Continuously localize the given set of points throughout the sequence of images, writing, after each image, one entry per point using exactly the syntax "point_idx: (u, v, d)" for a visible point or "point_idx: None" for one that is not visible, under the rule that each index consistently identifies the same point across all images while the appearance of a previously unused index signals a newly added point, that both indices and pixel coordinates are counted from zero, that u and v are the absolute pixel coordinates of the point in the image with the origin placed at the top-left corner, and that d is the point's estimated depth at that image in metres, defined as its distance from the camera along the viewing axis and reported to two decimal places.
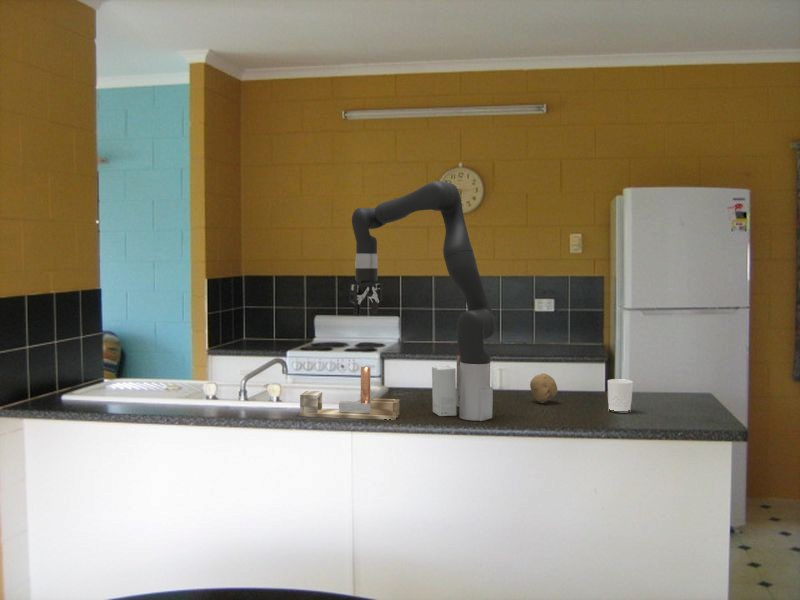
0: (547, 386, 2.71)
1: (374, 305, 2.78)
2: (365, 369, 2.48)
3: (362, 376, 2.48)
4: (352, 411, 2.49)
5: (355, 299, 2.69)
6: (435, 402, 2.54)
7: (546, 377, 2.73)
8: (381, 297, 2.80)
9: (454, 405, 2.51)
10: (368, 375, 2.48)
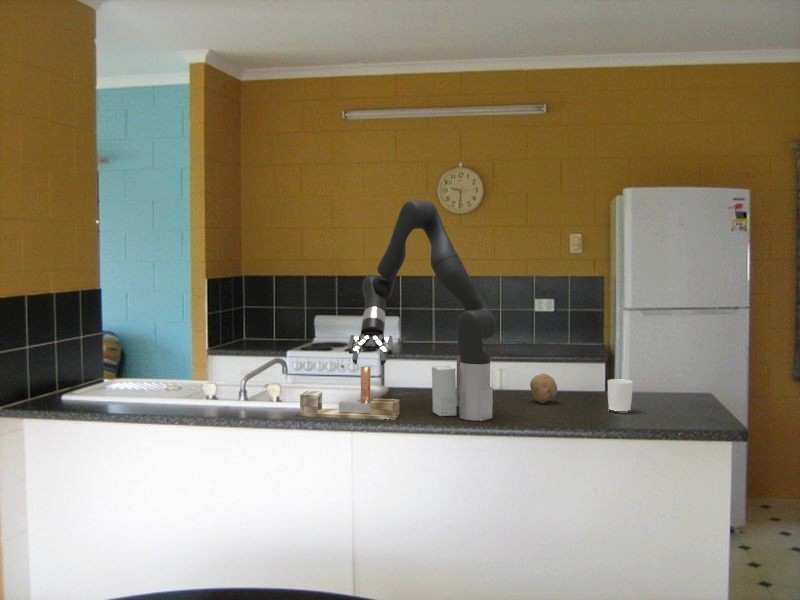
0: (547, 386, 2.71)
1: (381, 355, 2.58)
2: (365, 369, 2.48)
3: (362, 376, 2.48)
4: (352, 411, 2.49)
5: (349, 346, 2.60)
6: (435, 402, 2.54)
7: (546, 377, 2.73)
8: (390, 347, 2.59)
9: (454, 405, 2.51)
10: (368, 375, 2.48)
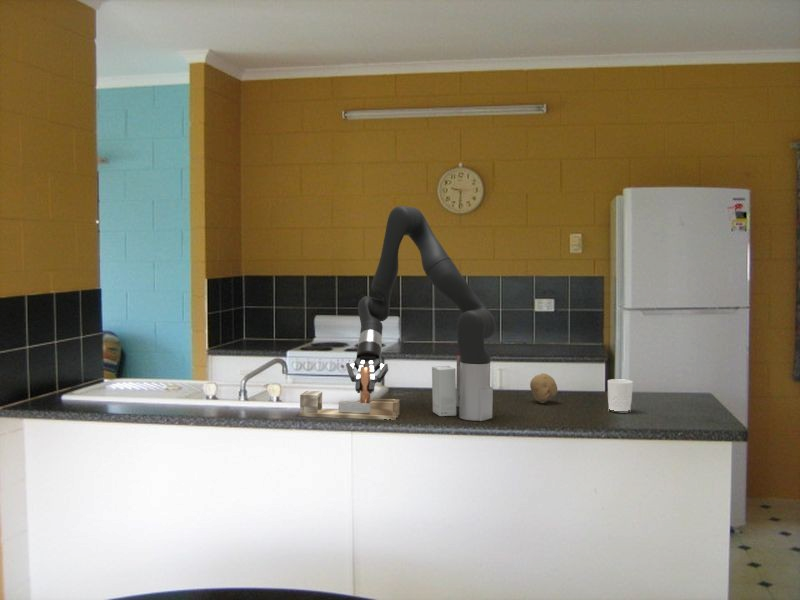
0: (548, 386, 2.71)
1: None
2: (365, 369, 2.48)
3: (362, 376, 2.48)
4: (352, 411, 2.49)
5: (352, 374, 2.51)
6: (435, 402, 2.54)
7: (546, 377, 2.73)
8: (379, 374, 2.50)
9: (454, 405, 2.51)
10: (368, 375, 2.48)
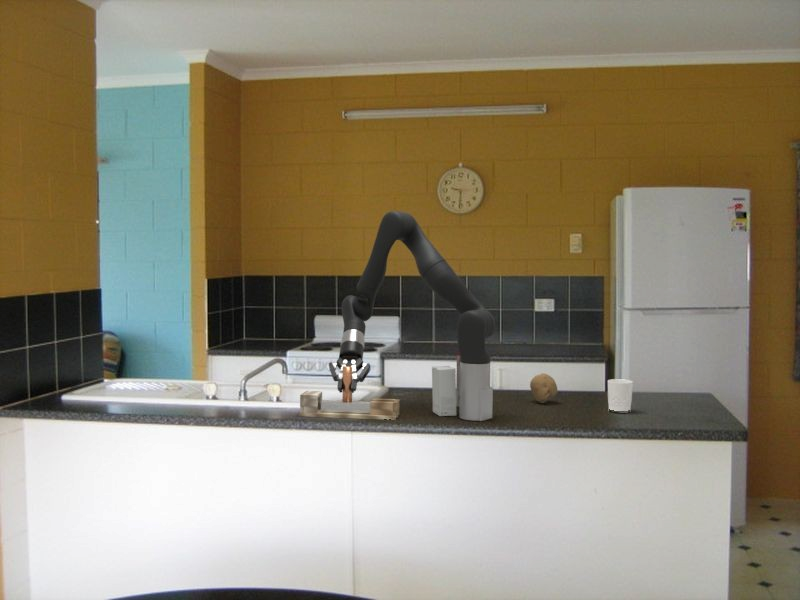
0: (547, 386, 2.71)
1: None
2: (347, 368, 2.49)
3: (344, 375, 2.49)
4: (334, 410, 2.50)
5: (334, 374, 2.52)
6: (435, 402, 2.54)
7: (546, 377, 2.73)
8: (361, 374, 2.51)
9: (454, 405, 2.51)
10: (350, 374, 2.49)
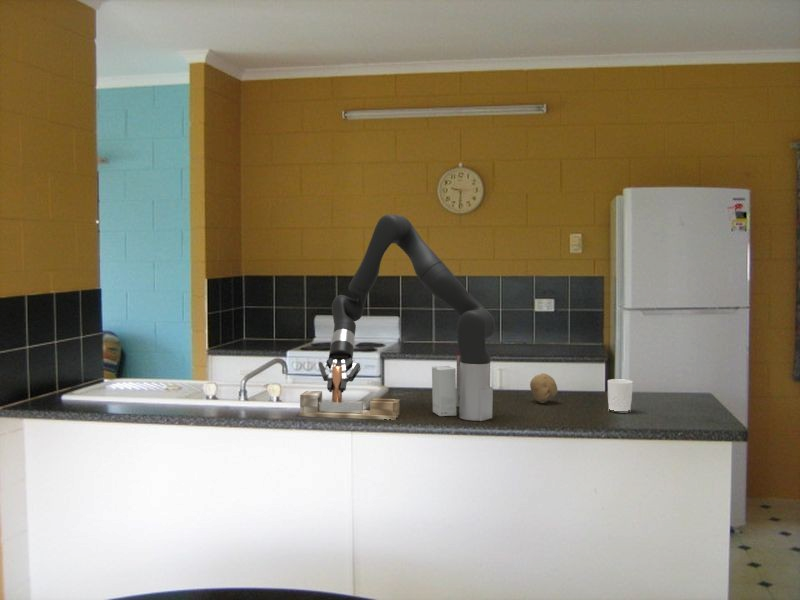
0: (547, 386, 2.71)
1: None
2: (336, 368, 2.49)
3: (333, 375, 2.50)
4: (324, 410, 2.50)
5: (324, 373, 2.52)
6: (435, 402, 2.54)
7: (546, 377, 2.73)
8: (351, 374, 2.51)
9: (454, 405, 2.51)
10: (339, 374, 2.50)
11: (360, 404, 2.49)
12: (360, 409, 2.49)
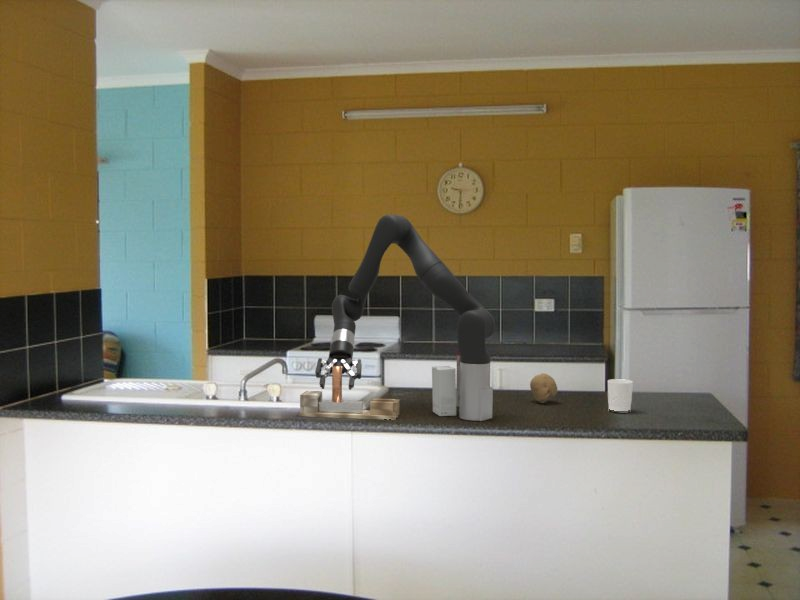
0: (547, 386, 2.71)
1: None
2: (336, 368, 2.49)
3: (333, 375, 2.50)
4: (324, 410, 2.50)
5: (316, 370, 2.53)
6: (435, 402, 2.54)
7: (546, 377, 2.73)
8: (358, 371, 2.52)
9: (454, 405, 2.51)
10: (339, 374, 2.50)
11: (360, 404, 2.49)
12: (360, 409, 2.49)
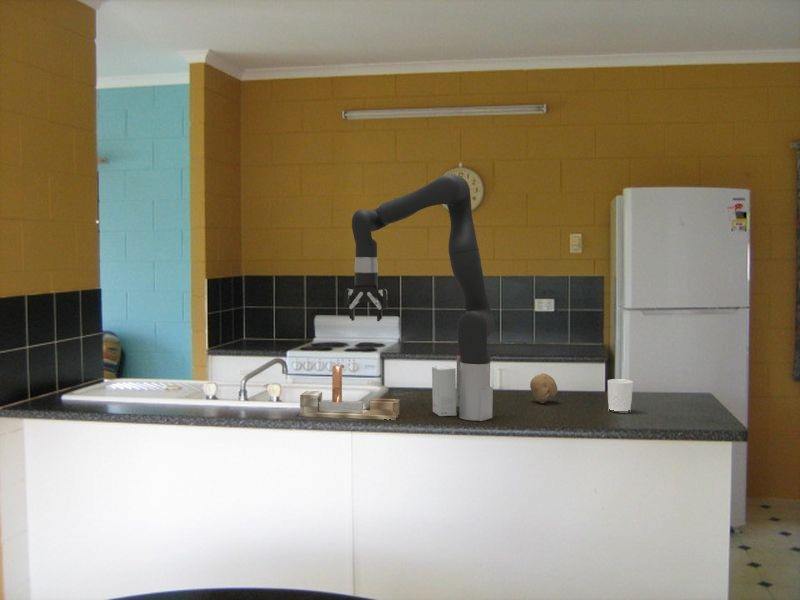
0: (547, 386, 2.71)
1: (377, 312, 2.64)
2: (336, 368, 2.49)
3: (333, 375, 2.50)
4: (324, 410, 2.50)
5: (345, 303, 2.65)
6: (435, 402, 2.54)
7: (546, 377, 2.73)
8: (384, 304, 2.63)
9: (454, 405, 2.51)
10: (339, 374, 2.50)
11: (360, 404, 2.49)
12: (360, 409, 2.49)
